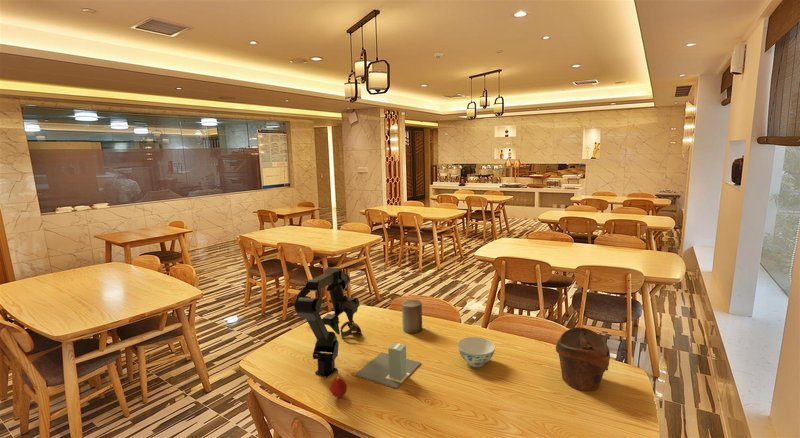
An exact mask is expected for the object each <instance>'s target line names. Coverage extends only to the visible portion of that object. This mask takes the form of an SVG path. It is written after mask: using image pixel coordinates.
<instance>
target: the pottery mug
mask: <svg viewBox="0 0 800 438" xmlns="http://www.w3.org/2000/svg"><path fill="white" fill-rule="evenodd" d="M346 326H347V327H348V328H349V329H348V330H345V331H343V329H344V328H345V327H346ZM339 331H340V336H341V338H344V337H345V338H346V337H347V338H348V337H349V336H353V332H356V333H359V335H360V337H363V333H362V330H361V327H360V325H359V324H358V323H356V322H355V321H354V320H353V322H352V323H350V322H349V320H347V321H346V322H344V323H343V324H342V325H341V326H340V329H339Z"/></svg>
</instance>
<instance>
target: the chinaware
mask: <svg viewBox="0 0 800 438" xmlns="http://www.w3.org/2000/svg"><path fill="white" fill-rule="evenodd" d="M457 349H458V353H459V355H460V356H461V358H462V359H463V360H464V362H465V361H466V363H467V364H468V365H469V366H471V367H473V368H481V367H483V366H484V365H485V364H486V363H488V362H489V361H490V360H491V359H492V357H493V356H494V353H495V350H496V346H495V343H494V342H493V341H492V340H490V339H487V338H484V337H477V336H466V337H464V338H461V339H460V340H458V342H457Z"/></svg>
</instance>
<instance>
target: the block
mask: <svg viewBox="0 0 800 438" xmlns="http://www.w3.org/2000/svg"><path fill="white" fill-rule="evenodd" d="M387 350H388V353H387V354H389V378H393V379H397V380H402V379H403V377H404V376H405V375H406V359H407V344H404V343H403V344H402V343H397V342H393V343H392V344H391V345H390V346H389V347H388V349H387Z"/></svg>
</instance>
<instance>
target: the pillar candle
mask: <svg viewBox="0 0 800 438" xmlns="http://www.w3.org/2000/svg"><path fill="white" fill-rule="evenodd" d="M422 305H423V304H422V301H421V300H419V299H412V298H411V299H406V300H403V301H402V302H401V316H402V330H403V332H405V334H417V333H421V332H422V331H423V311H422V310H423V309H422V308H423V307H422Z"/></svg>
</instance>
